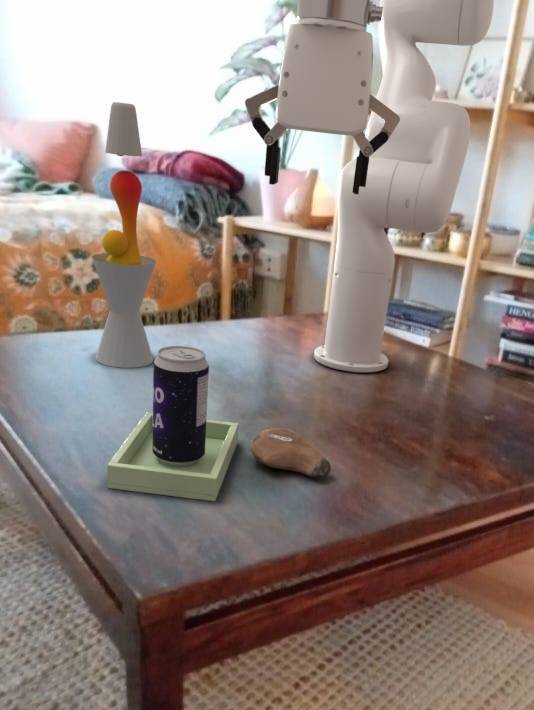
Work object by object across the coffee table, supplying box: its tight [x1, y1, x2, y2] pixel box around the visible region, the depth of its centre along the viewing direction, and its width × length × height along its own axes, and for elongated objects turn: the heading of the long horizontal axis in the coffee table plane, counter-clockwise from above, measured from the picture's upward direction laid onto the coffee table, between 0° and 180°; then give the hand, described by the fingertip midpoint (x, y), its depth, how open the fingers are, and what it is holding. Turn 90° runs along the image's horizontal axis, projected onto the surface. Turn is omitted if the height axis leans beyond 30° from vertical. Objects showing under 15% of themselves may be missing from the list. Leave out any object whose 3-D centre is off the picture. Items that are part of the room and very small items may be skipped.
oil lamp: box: [250, 427, 332, 478], centre depth 79 cm, size 9×4×8 cm
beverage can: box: [152, 345, 210, 467], centre depth 75 cm, size 6×6×12 cm
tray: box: [106, 411, 239, 502], centre depth 77 cm, size 15×11×3 cm
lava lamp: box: [91, 101, 157, 369], centre depth 101 cm, size 9×9×35 cm
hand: (314, 188), depth 82 cm, fingers open, 9 cm apart
